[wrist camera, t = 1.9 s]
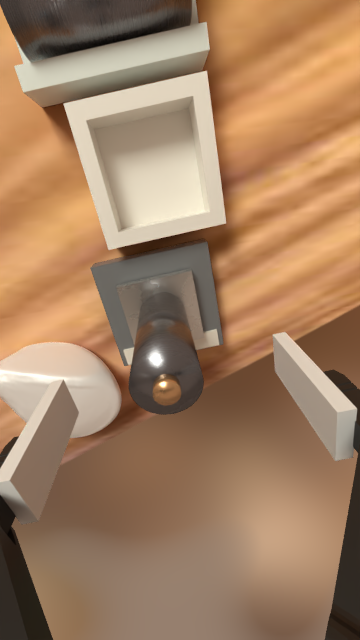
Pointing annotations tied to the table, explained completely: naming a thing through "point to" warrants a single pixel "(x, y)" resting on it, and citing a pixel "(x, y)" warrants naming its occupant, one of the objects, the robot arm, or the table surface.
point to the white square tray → (150, 159)
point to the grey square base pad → (155, 265)
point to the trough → (116, 65)
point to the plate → (170, 283)
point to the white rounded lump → (56, 364)
